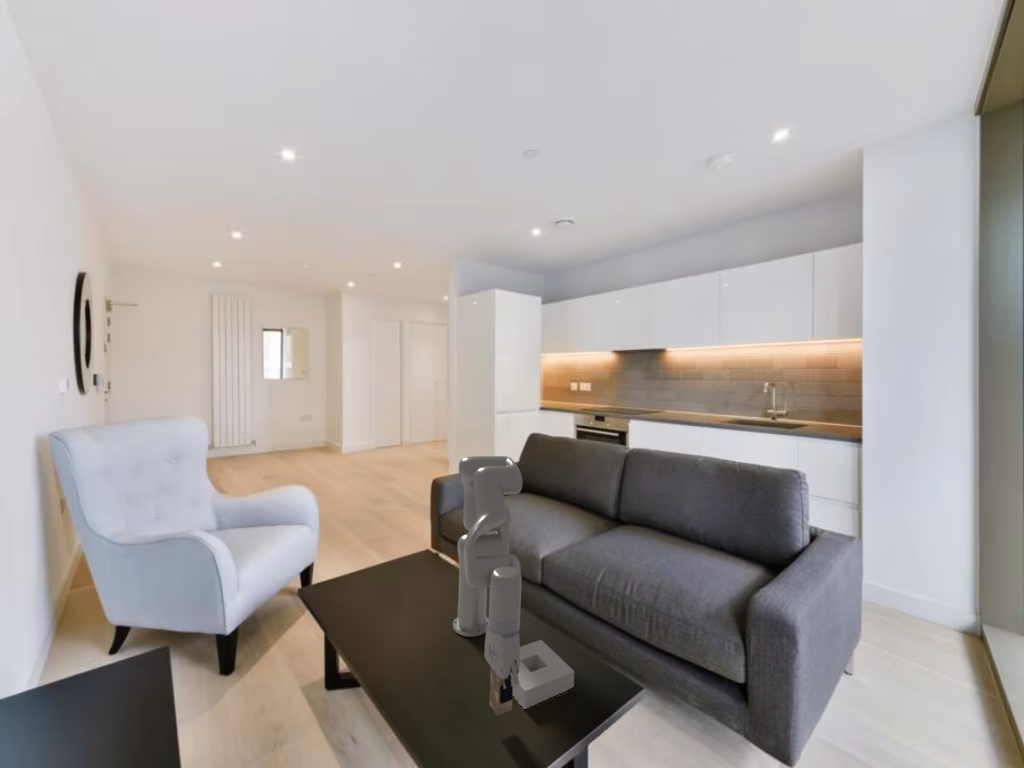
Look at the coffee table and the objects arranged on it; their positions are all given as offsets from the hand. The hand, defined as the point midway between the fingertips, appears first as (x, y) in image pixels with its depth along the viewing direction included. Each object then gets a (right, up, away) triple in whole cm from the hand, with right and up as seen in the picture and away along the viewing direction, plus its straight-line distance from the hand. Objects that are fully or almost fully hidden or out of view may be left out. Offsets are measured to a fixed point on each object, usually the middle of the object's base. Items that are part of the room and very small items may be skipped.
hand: (501, 693), depth 105 cm
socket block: (+9, -8, +16) cm, 20 cm away
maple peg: (0, -3, 0) cm, 3 cm away
